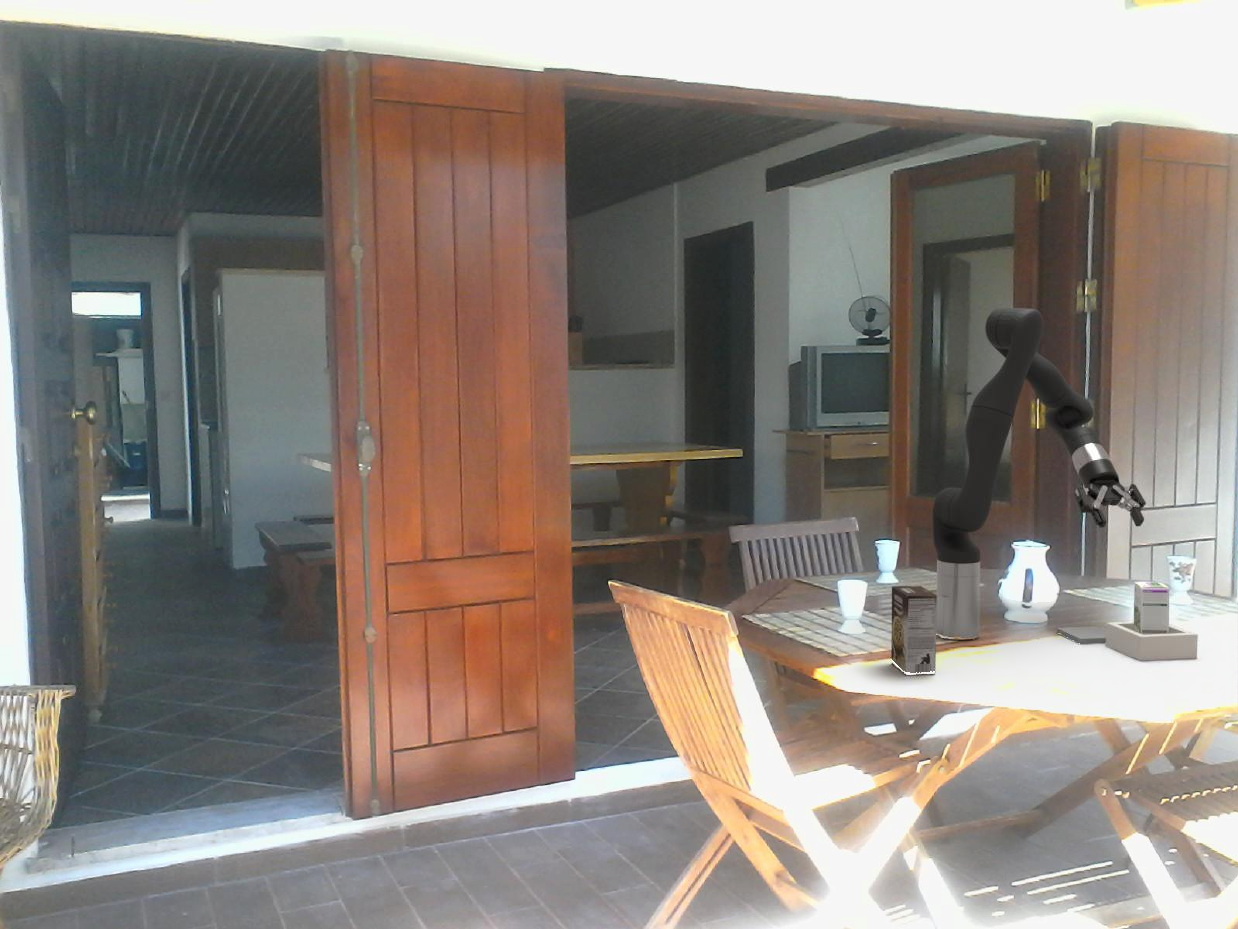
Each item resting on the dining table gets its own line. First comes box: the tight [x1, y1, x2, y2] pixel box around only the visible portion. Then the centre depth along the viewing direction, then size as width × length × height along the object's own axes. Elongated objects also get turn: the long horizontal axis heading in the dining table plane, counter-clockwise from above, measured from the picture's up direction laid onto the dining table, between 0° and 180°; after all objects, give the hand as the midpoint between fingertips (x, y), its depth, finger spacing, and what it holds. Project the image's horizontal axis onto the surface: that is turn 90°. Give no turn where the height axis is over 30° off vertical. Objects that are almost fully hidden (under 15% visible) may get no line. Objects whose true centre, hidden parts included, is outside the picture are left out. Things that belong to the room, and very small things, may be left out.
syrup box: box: [1133, 581, 1170, 635], centre depth 228 cm, size 6×6×14 cm
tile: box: [1056, 625, 1106, 645], centre depth 241 cm, size 10×10×1 cm
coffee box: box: [890, 585, 937, 673], centre depth 217 cm, size 9×6×16 cm
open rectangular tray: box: [1105, 621, 1199, 662], centre depth 228 cm, size 12×12×5 cm
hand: (1122, 524), depth 238 cm, fingers open, 8 cm apart
